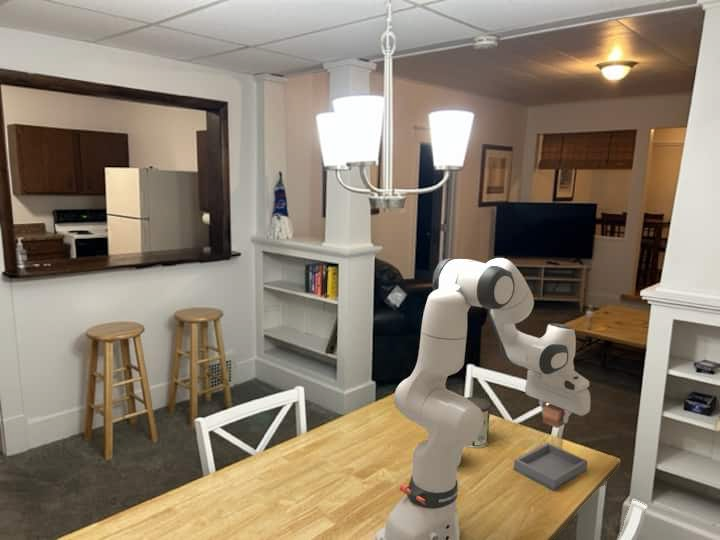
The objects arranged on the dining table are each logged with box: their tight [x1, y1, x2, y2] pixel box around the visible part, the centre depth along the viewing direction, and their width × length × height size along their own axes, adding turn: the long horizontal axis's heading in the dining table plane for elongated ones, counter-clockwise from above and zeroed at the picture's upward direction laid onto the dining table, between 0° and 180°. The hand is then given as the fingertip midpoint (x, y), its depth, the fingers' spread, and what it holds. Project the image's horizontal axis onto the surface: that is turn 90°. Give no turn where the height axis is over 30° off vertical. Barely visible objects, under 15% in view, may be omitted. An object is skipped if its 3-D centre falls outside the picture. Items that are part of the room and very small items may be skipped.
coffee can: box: [464, 396, 491, 449], centre depth 180 cm, size 10×10×14 cm
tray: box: [513, 442, 588, 492], centre depth 162 cm, size 18×14×4 cm
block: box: [542, 403, 567, 429], centre depth 160 cm, size 5×5×5 cm
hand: (554, 417), depth 160 cm, fingers closed on block, 5 cm apart
